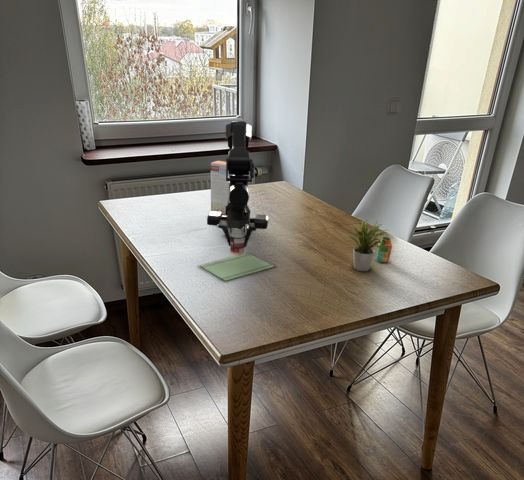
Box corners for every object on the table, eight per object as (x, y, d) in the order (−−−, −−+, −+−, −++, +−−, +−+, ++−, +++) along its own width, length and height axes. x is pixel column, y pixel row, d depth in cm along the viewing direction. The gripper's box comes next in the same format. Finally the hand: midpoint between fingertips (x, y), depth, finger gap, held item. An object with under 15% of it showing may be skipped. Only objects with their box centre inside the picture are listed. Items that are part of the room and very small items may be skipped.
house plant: (373, 282, 164) (381, 232, 155) (333, 271, 170) (339, 222, 161) (388, 268, 174) (397, 220, 166) (351, 258, 180) (357, 212, 172)
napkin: (199, 266, 169) (199, 265, 168) (248, 254, 180) (248, 253, 179) (225, 281, 160) (225, 280, 159) (274, 267, 171) (274, 266, 170)
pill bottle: (229, 249, 169) (230, 224, 164) (244, 250, 169) (245, 225, 165) (230, 255, 165) (230, 229, 160) (245, 255, 165) (245, 230, 161)
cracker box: (246, 217, 215) (247, 165, 204) (237, 220, 211) (238, 167, 200) (219, 210, 221) (218, 159, 210) (210, 213, 217) (209, 162, 206)
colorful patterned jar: (390, 259, 180) (394, 237, 176) (388, 264, 177) (392, 241, 172) (376, 257, 182) (380, 235, 177) (374, 261, 178) (378, 239, 174)
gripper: (203, 202, 151) (204, 253, 160) (266, 207, 150) (264, 257, 159) (210, 192, 161) (210, 240, 169) (269, 196, 160) (267, 245, 168)
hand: (237, 246), depth 166 cm, fingers closed on pill bottle, 5 cm apart
